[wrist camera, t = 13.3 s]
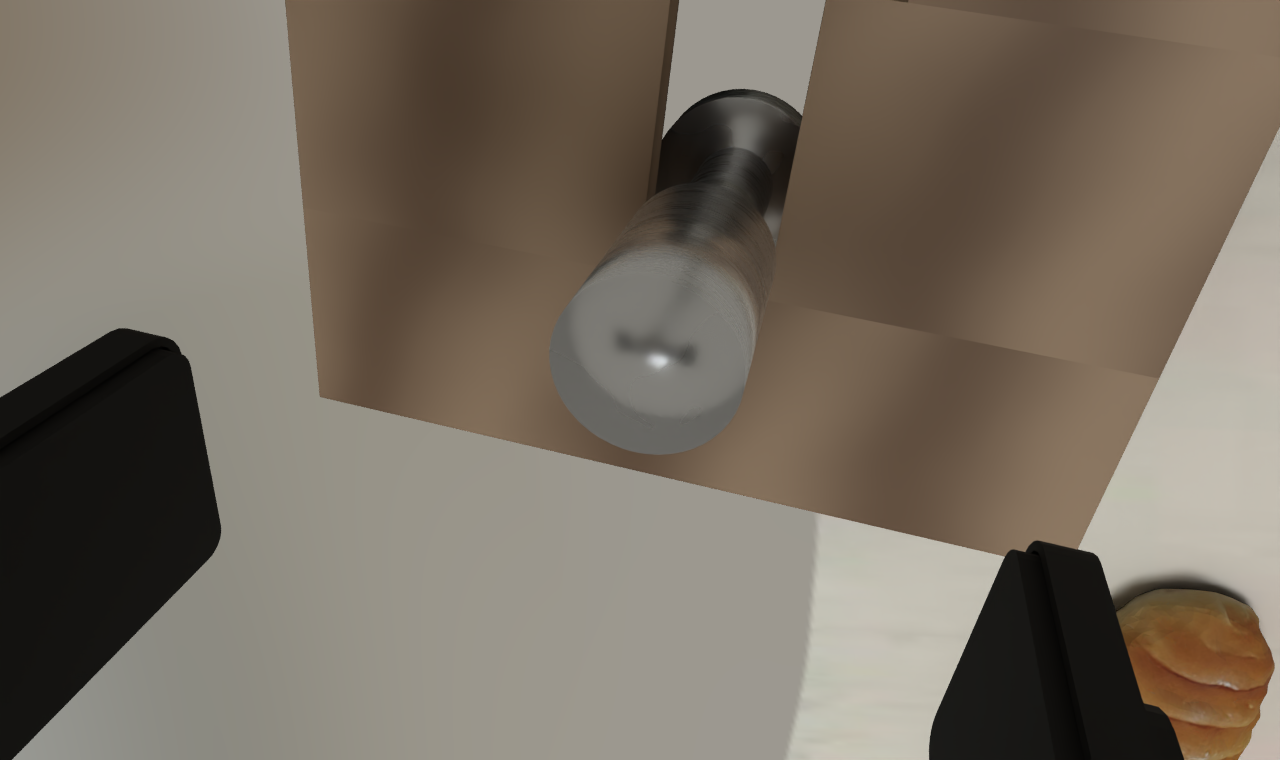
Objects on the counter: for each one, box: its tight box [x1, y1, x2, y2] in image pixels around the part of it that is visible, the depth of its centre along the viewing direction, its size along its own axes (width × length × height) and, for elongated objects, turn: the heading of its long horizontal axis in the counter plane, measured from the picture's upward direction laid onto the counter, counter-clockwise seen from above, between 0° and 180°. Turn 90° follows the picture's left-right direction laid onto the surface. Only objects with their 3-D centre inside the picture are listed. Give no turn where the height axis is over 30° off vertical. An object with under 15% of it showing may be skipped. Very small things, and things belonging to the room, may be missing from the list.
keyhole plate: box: [285, 0, 1280, 556], centre depth 20 cm, size 20×22×5 cm
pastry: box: [1116, 589, 1274, 760], centre depth 27 cm, size 9×7×4 cm
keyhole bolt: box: [549, 89, 802, 455], centre depth 19 cm, size 4×4×12 cm
